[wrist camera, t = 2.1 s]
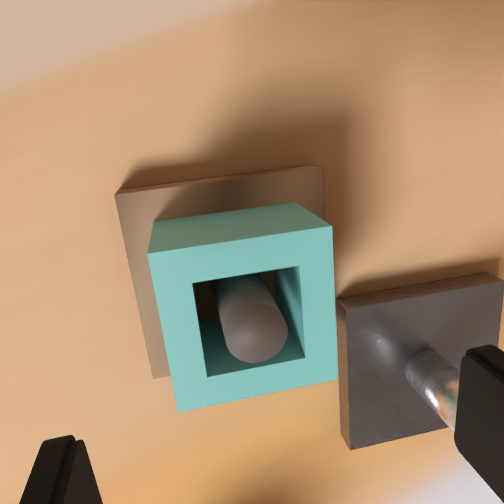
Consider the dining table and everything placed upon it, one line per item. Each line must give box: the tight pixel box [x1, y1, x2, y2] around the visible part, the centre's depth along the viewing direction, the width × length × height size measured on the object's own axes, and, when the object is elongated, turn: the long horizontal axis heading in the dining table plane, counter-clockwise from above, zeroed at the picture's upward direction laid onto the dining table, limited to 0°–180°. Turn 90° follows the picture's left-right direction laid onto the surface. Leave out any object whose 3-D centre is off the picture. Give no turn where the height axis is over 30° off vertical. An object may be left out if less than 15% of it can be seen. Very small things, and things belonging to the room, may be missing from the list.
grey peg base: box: [336, 272, 504, 450], centre depth 23 cm, size 10×10×8 cm
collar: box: [147, 202, 338, 412], centre depth 19 cm, size 7×7×5 cm
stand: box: [114, 165, 325, 379], centre depth 19 cm, size 10×10×8 cm
